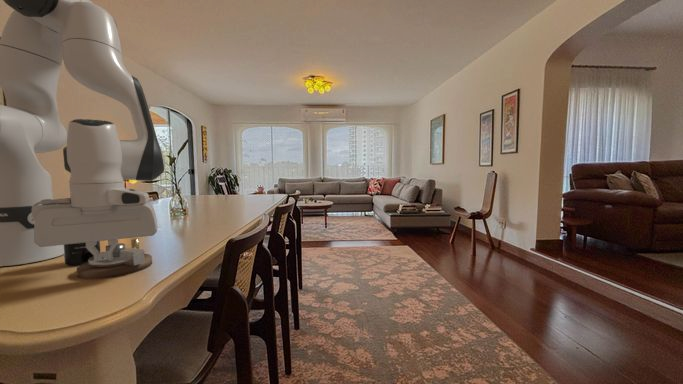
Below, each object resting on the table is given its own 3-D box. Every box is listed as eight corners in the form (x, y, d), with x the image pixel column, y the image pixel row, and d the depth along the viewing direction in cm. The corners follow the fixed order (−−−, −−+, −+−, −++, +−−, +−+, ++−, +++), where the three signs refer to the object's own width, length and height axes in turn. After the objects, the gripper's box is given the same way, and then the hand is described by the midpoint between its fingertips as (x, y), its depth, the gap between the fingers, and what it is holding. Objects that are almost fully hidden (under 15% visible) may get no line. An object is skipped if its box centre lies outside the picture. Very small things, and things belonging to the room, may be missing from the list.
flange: (78, 264, 66) (77, 248, 66) (124, 252, 75) (123, 238, 75) (115, 271, 61) (114, 254, 61) (160, 257, 71) (159, 243, 70)
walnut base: (62, 274, 65) (60, 250, 65) (128, 256, 78) (126, 236, 78) (102, 282, 60) (100, 256, 60) (165, 262, 73) (164, 240, 73)
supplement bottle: (80, 267, 70) (75, 217, 69) (57, 265, 71) (53, 217, 70) (108, 258, 77) (104, 213, 76) (87, 257, 78) (83, 212, 77)
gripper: (22, 201, 54) (30, 274, 55) (154, 195, 64) (158, 257, 65) (37, 198, 59) (44, 264, 61) (156, 193, 69) (159, 250, 70)
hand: (103, 260), depth 63 cm, fingers closed
